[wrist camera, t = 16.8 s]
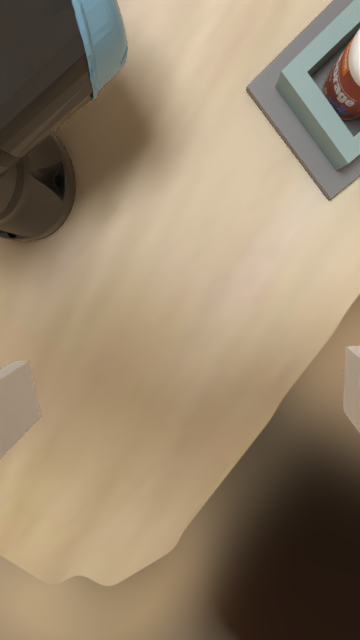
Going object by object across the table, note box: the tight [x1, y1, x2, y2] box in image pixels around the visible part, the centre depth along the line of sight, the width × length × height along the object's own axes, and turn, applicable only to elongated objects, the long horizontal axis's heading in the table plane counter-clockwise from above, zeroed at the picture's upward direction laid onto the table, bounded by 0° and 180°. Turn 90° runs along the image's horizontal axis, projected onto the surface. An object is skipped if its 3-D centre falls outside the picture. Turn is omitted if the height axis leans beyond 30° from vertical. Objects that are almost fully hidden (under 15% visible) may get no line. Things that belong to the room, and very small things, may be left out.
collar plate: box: [246, 0, 360, 200], centre depth 33 cm, size 16×16×4 cm
